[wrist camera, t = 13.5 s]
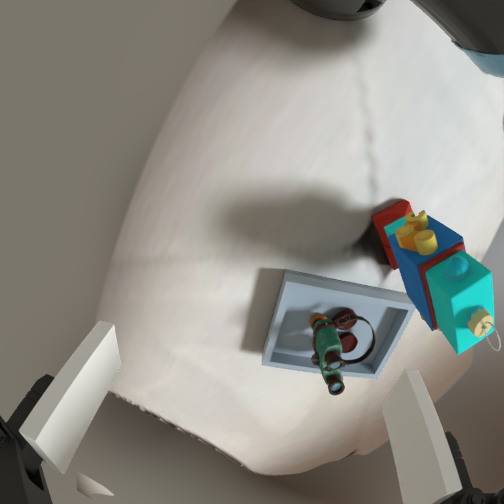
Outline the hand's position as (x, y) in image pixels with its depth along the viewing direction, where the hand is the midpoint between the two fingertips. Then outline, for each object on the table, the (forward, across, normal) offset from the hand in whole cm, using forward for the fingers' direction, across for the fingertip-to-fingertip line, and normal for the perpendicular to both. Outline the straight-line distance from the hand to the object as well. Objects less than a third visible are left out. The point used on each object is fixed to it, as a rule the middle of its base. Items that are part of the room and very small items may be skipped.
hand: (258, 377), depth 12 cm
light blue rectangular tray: (+28, +13, -16) cm, 35 cm away
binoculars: (+27, +13, -16) cm, 34 cm away
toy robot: (+29, +18, 0) cm, 34 cm away
